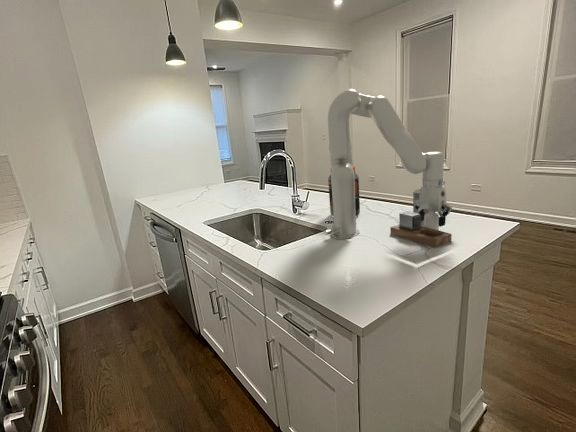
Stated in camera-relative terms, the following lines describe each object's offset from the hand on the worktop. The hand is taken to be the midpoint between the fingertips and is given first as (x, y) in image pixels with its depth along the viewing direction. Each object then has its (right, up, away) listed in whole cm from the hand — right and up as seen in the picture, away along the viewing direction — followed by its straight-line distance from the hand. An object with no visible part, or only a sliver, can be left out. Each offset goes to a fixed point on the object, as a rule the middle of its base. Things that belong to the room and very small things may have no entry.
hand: (431, 223), depth 132 cm
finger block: (-10, -5, -3) cm, 11 cm away
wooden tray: (-8, -6, -6) cm, 12 cm away
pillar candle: (+5, +2, +19) cm, 20 cm away
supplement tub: (-29, +3, +38) cm, 48 cm away
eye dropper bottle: (0, -4, +1) cm, 4 cm away
